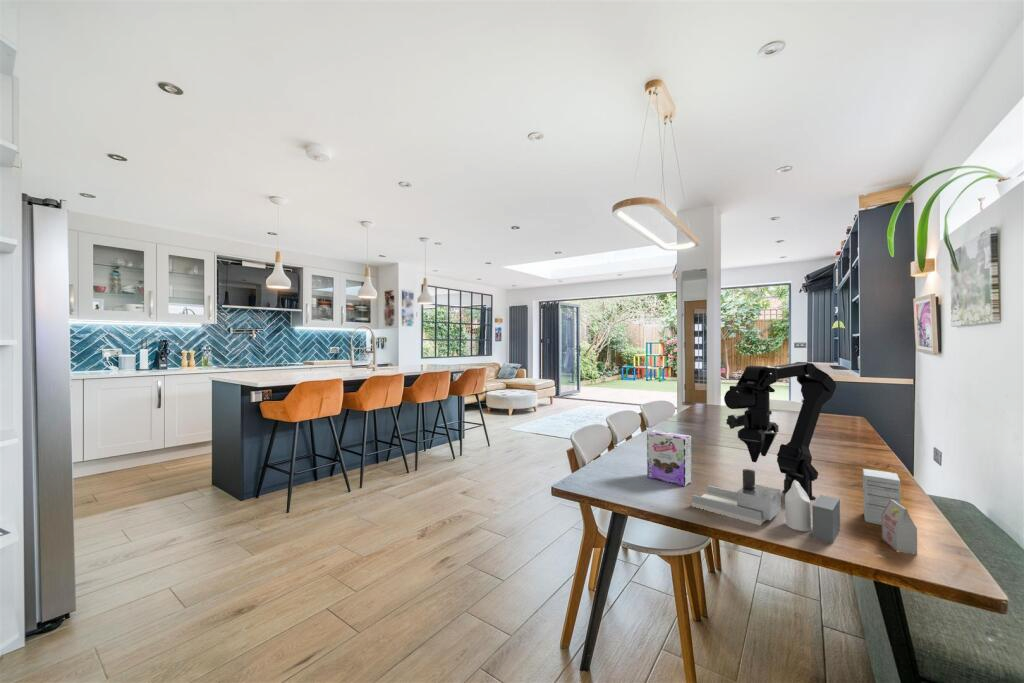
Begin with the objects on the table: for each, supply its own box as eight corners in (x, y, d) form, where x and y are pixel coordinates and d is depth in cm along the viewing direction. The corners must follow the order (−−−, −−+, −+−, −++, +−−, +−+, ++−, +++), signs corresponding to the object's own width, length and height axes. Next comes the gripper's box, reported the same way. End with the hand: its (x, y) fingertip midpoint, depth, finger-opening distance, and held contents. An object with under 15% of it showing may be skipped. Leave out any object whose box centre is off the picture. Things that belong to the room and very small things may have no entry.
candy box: (646, 477, 148) (646, 431, 148) (654, 473, 152) (653, 429, 152) (685, 487, 138) (684, 437, 138) (692, 482, 142) (691, 435, 142)
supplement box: (862, 512, 116) (862, 468, 116) (898, 519, 111) (898, 473, 111) (863, 521, 110) (863, 474, 110) (901, 529, 106) (901, 480, 106)
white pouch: (810, 486, 104) (784, 481, 107) (811, 533, 104) (784, 527, 107) (810, 479, 109) (784, 475, 112) (810, 524, 109) (785, 519, 112)
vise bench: (691, 506, 121) (691, 479, 121) (708, 494, 130) (708, 469, 130) (831, 545, 97) (831, 511, 98) (841, 528, 106) (840, 497, 107)
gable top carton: (900, 541, 100) (900, 499, 100) (917, 554, 93) (916, 510, 93) (881, 538, 101) (881, 498, 101) (896, 552, 94) (896, 508, 94)
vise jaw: (737, 511, 114) (736, 473, 114) (748, 501, 121) (748, 465, 121) (770, 520, 108) (769, 480, 108) (780, 509, 115) (780, 472, 115)
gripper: (739, 401, 137) (740, 448, 137) (718, 407, 124) (719, 459, 124) (778, 405, 129) (779, 454, 129) (760, 412, 116) (761, 467, 116)
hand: (758, 458), depth 124 cm, fingers open, 9 cm apart
